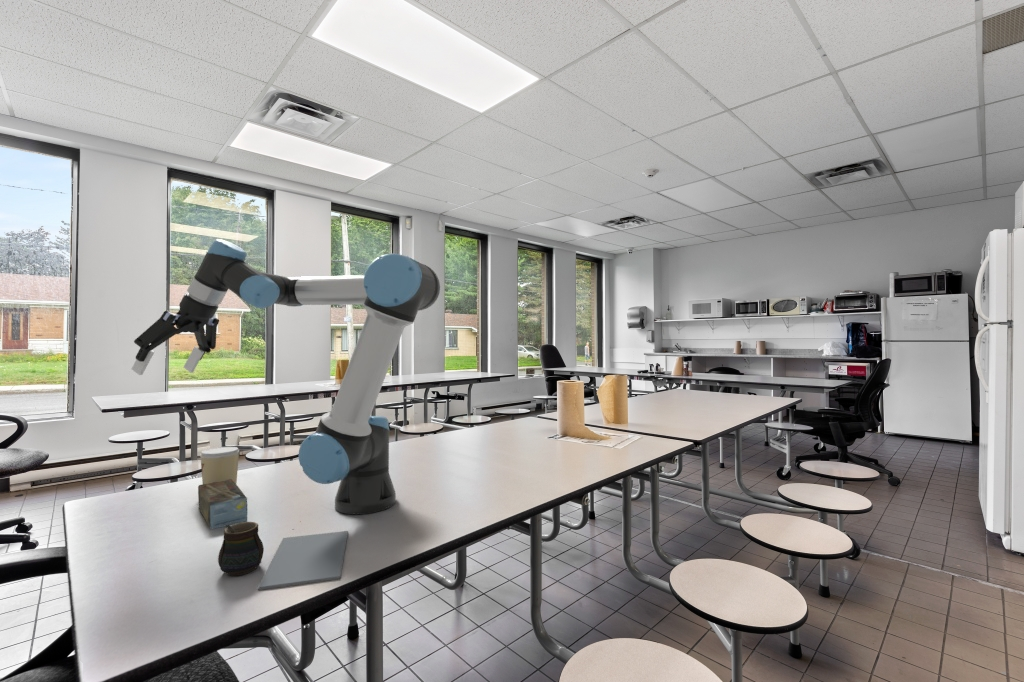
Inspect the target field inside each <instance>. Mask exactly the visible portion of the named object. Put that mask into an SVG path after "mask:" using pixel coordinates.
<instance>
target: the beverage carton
mask: <svg viewBox="0 0 1024 682" xmlns="http://www.w3.org/2000/svg"><path fill="white" fill-rule="evenodd" d="M197 489H198V490H197V492H198V493H197V494H198V509H199V510H200V513H201V514H202V516H203V518H204V520H205V522H206V523H207V525H208V526H209V528H210V530H214V529H218V528H222V527H226V526H225V525H230V526H231V525H234V524H237V523H242V522H248V497H246V495H245V493H244V492H243V491H242V489H240V487H239V486H238V485H237V483H236V484H235V482H234V481H233V480H232V479H228V480H225V481H220V482H219V481H217V482H213V483H209V484H203V483H202V484H198V487H197Z"/></svg>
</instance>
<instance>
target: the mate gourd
mask: <svg viewBox="0 0 1024 682" xmlns="http://www.w3.org/2000/svg"><path fill="white" fill-rule="evenodd" d="M224 527H226V528H225V529H224V530H223V541H222V544H221V547H220V550H219V552H218V556H217V557H218V558H217V562H218V567H219V568H220V570H221V571H222V572H223V573H224V574H226V575H228V576H231V577H236V576H237V577H238V576H244V575H246V574H249V573H251V572H253V571H254V570H256V569H257V568H258V567H259V566H260V565H261V564H262V559H263V556H264V552H265V551H264V544H263V541H262V540H261V538H260V535H259V524H258V523H257V522H254V521H245V522H241V523H237V524H232V525H225V526H224Z"/></svg>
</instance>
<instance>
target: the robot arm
mask: <svg viewBox="0 0 1024 682" xmlns="http://www.w3.org/2000/svg"><path fill="white" fill-rule="evenodd" d="M205 253H206V254H205V255H204V257H203V260H202V261H201V263H200V265H199V267H198V269H197V271H196V272H195V275H194V277H193V279H192V281H191V282H190V284H189V285H188V288H187V289H186V291H187V292H186V293H184V295H183V297H182V298H181V301H180V302H179V309H178V311H177V312H176V313H173V312H170V311H169V310H165V311H164V312H163V313H162V315H161V316H160V317H159V318H158V319H156V321H155V322H154V323H152V325H150V326H149V327H148V328H147V329H146V330H144V331H143V332H142V333H141V334H140V335H139V336H137V338H135V339H134V340H133V343H134V344H135V345H137V346H138V347H139V349H138V352H137V353H136V355H135V361H134V362H133V366H132V367H131V370H132V371H133V372H135V374H137V375H138V376H142V375H143V374H144V373H145V371H146V369H147V366H148V365H149V363H150V361H151V359H152V358H153V356H154V354H155V350H154V349H156V348H157V347H159V346H160V345H162V344H163V343H164V342H166V341H168V340H169V339H170V338H172V337H174V336H176V335H180V334H181V333H190V334H191V333H192V334H194V337H195V340H196V344H197V346H194V347H193V349H191V352H190V354H189V356H188V358H187V360H186V361H185V363H184V365H183V368H184V370H186V371H188V373H190V374H191V373H192V374H193V373H194V371H195V369H196V368H197V366H198V364H199V362H200V361H201V360H202V359H203V357H204V355H205V354H206V353H207V354H209V353H211V351H212V350H214V349H216V346H217V330H218V329H217V328H218V325H219V323H220V319H219V318H217V317H216V316H215V315H216V313H217V311H218V309H219V305H221V304H222V302H223V300H224V298H225V296H226V294H227V292H228V291H231V292H232V293H234V294H235V295H236V296H238V297H239V298H241V300H243V301H244V302H245V303H247V304H248V305H252V307H254V308H257V309H261V310H262V309H266V308H267V307H268V308H269V307H271V306H273V305H280V306H281V305H282V306H287V307H301V306H327V305H328V306H331V305H332V306H339V305H341V306H345V305H349V306H350V305H351V306H352V305H358V306H359V305H363V307H364V310H365V311H366V317H365V320H364V323H363V325H362V329H361V331H360V333H359V336H358V339H357V342H356V344H355V347H354V350H353V352H352V354H351V357H350V360H349V362H348V365H347V368H346V370H345V373H344V376H343V378H342V381H341V384H340V386H339V389H338V391H337V394H336V397H335V400H334V403H333V404H332V407H331V409H330V411H328V412H326V413H323V414H322V415H321V417H320V419H319V421H318V422H319V423H318V425H317V427H316V430H315V432H314V433H312V434H309V435H308V436H307V437H306V438H305V439H304V440H303V441H302V442H301V443H300V447H299V450H298V462H299V465H300V467H302V471H303V473H304V474H305V476H306V477H308V478H309V479H310V480H311V481H313V482H315V483H317V484H320V485H321V484H322V485H329V484H333V483H337V482H339V486H338V488H337V492H336V495H335V498H334V510H335V511H336V512H339V513H341V514H346V515H347V514H349V515H364V514H365V515H367V514H373V513H377V512H381V511H384V510H387V509H389V508H391V507H392V506H394V505H395V504H396V501H397V499H396V498H397V496H396V495H397V494H396V490H395V486H394V484H393V481H392V478H391V474H390V471H389V470H390V467H389V465H390V461H389V460H390V456H389V455H390V428H389V419H388V418H387V417H386V416H382V415H380V416H379V415H372V412H373V410H374V408H375V405H376V402H377V399H378V397H379V394H380V392H381V389H382V386H383V384H384V381H385V379H386V376H387V373H388V371H389V368H390V366H391V364H392V363H391V362H392V361H393V358H394V355H395V352H396V350H397V347H398V345H399V343H400V340H401V337H402V335H403V332H404V329H405V328H406V327H408V326H410V325H413V324H414V322H415V320H416V318H417V317H416V316H417V314H418V312H419V311H424V310H426V309H429V308H430V307H432V306H433V305H434V304H435V303H436V301H437V300H438V298H439V296H440V291H441V284H440V279H439V277H438V275H437V273H436V272H435V271H434V270H433V269H432V268H431V267H430V266H428V265H426V264H423V263H421V262H419V261H417V260H415V259H413V258H411V257H409V256H408V255H407V256H406V255H403V254H398V253H387V254H382V255H381V256H378V257H376V258H375V259H373V261H371V262H370V264H369V265H368V267H367V268H366V271H364V275H334V276H333V275H331V276H328V275H327V276H301V277H300V276H295V277H294V276H292V277H291V276H289V277H288V276H283V275H277V274H273V273H269V272H265V271H264V272H263V271H260V270H257V269H256V268H255V267H252V266H250V265H249V264H248V263H246V258H247V252H246V251H245V250H244V248H242V247H240V246H238V245H237V244H235V243H233V242H230V241H228V240H226V239H225V240H224V239H221V238H219V239H215V240H214V241H213V242H212V243H211V245H210V247H209V248H208V250H207V251H206V252H205ZM175 326H176V327H175Z"/></svg>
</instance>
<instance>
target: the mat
mask: <svg viewBox="0 0 1024 682" xmlns="http://www.w3.org/2000/svg"><path fill="white" fill-rule="evenodd" d="M348 534H349V530H344V531H343V530H342V531H341V530H340V531H335V532H334V531H333V532H325V533H317V534H307V535H298V536H290V537H289V536H288V537H282V539H281V542H280V544H279V545H278V548H277V549H276V551H275V554H274V555H273V557H272V559H271V561H270V564H269V565H268V567H267V569H266V571H265V574H263V577H262V578H261V581H260V583H259V585H258V588H257V589H258V591H261V590H262V591H263V590H269V589H276V588H283V587H291V586H297V585H298V586H299V585H307V584H313V583H319V582H326V581H334V580H335V581H336V580H340V579H341V576H342V569H343V563H344V556H345V552H346V546H347V539H348Z"/></svg>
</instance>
